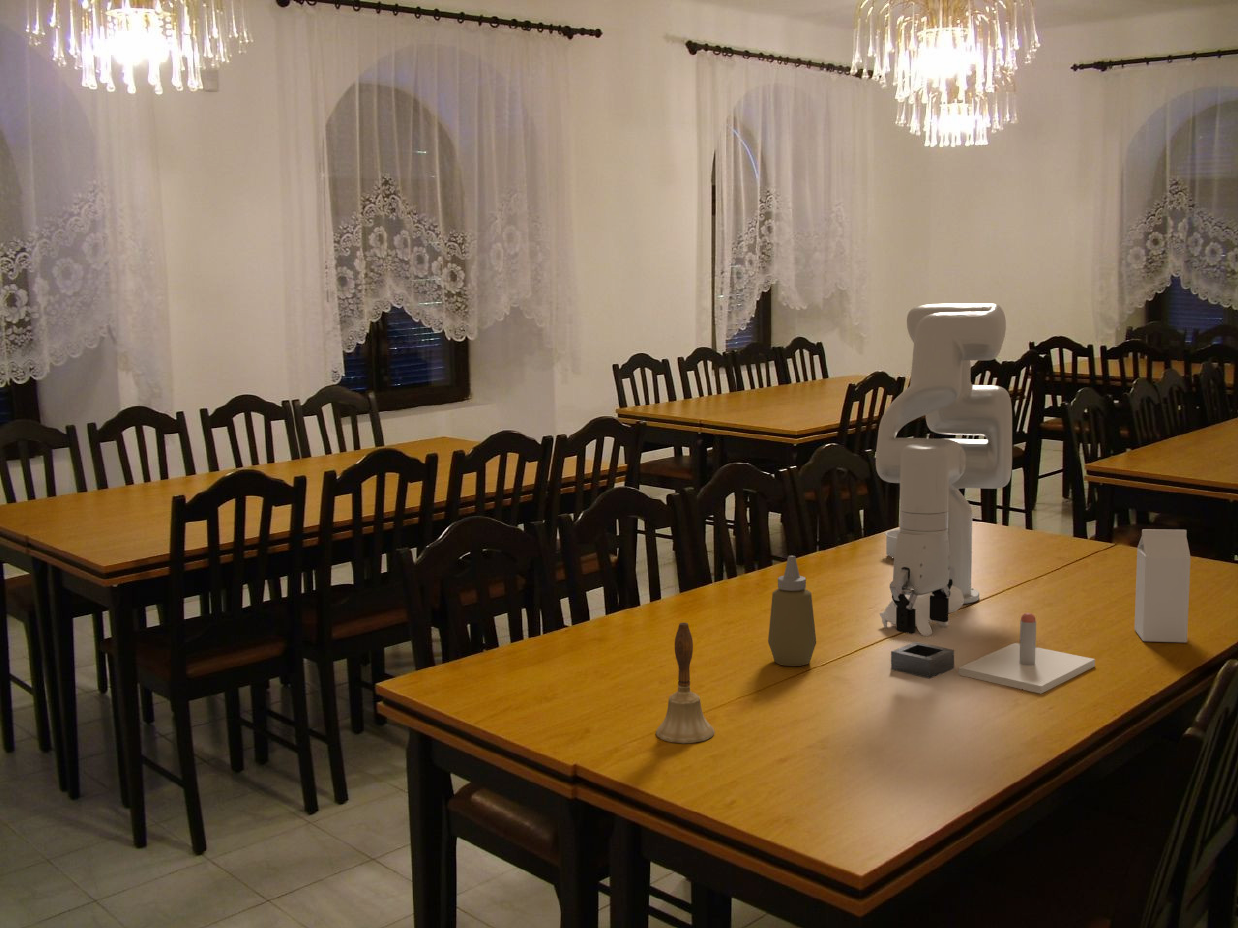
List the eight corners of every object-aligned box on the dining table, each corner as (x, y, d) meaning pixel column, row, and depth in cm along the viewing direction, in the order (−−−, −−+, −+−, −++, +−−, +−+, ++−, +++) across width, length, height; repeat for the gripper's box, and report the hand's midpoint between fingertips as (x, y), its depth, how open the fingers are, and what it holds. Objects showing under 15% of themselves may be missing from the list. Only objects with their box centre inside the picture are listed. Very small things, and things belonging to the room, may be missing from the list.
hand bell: (652, 724, 179) (650, 617, 176) (709, 721, 179) (707, 614, 177) (659, 745, 170) (656, 633, 168) (719, 742, 171) (717, 630, 169)
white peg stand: (958, 674, 197) (959, 616, 196) (1014, 649, 209) (1015, 595, 208) (1041, 693, 187) (1042, 633, 186) (1094, 666, 199) (1096, 609, 198)
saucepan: (951, 572, 266) (951, 546, 265) (874, 558, 281) (874, 534, 280) (979, 562, 274) (980, 538, 273) (903, 550, 288) (903, 526, 287)
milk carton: (1187, 643, 210) (1191, 534, 208) (1142, 642, 212) (1146, 533, 209) (1177, 631, 217) (1181, 525, 215) (1134, 630, 219) (1137, 525, 216)
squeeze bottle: (820, 656, 208) (820, 552, 206) (812, 671, 201) (811, 563, 198) (773, 653, 211) (772, 550, 208) (763, 667, 203) (762, 560, 201)
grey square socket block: (891, 669, 201) (891, 651, 200) (915, 659, 206) (915, 641, 205) (929, 678, 196) (930, 660, 195) (953, 667, 201) (954, 649, 200)
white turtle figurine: (886, 646, 224) (960, 628, 214) (871, 601, 225) (943, 581, 215) (907, 635, 230) (980, 617, 221) (892, 591, 231) (963, 572, 222)
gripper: (932, 512, 206) (931, 612, 208) (872, 526, 194) (872, 632, 196) (973, 517, 200) (971, 620, 202) (914, 531, 188) (913, 641, 190)
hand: (922, 626), depth 199 cm, fingers open, 9 cm apart
